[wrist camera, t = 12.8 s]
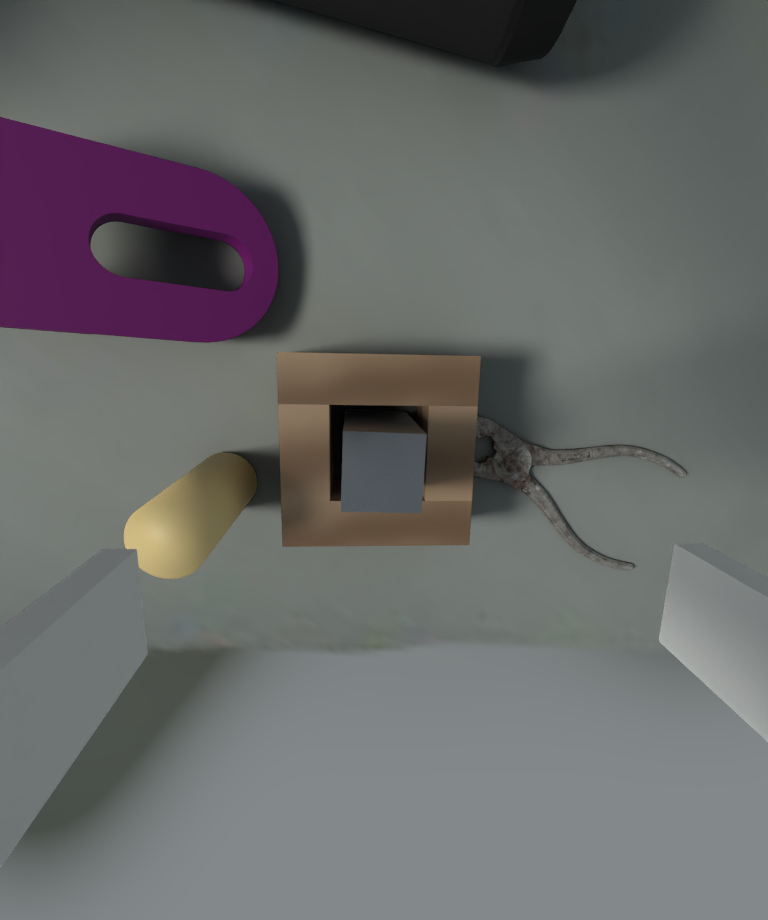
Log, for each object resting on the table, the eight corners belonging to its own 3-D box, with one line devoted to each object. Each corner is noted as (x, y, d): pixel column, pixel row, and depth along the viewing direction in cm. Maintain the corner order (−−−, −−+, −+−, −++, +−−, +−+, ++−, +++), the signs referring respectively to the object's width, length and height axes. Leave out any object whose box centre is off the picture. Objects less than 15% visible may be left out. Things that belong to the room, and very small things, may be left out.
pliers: (653, 576, 37) (408, 534, 34) (646, 571, 37) (407, 530, 35) (694, 459, 35) (438, 407, 32) (686, 456, 35) (435, 406, 33)
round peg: (189, 459, 32) (110, 513, 23) (246, 446, 32) (191, 494, 23) (209, 513, 34) (141, 586, 24) (264, 501, 33) (218, 569, 24)
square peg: (346, 409, 33) (343, 430, 23) (405, 411, 33) (426, 434, 23) (344, 466, 33) (340, 511, 24) (401, 468, 34) (421, 513, 24)
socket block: (288, 352, 31) (276, 352, 27) (461, 356, 32) (480, 355, 27) (292, 519, 34) (282, 546, 29) (452, 518, 35) (469, 544, 30)
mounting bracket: (247, 220, 35) (-77, 149, 26) (280, 189, 28) (-148, 77, 19) (244, 347, 37) (-57, 322, 28) (276, 349, 30) (-115, 316, 21)
